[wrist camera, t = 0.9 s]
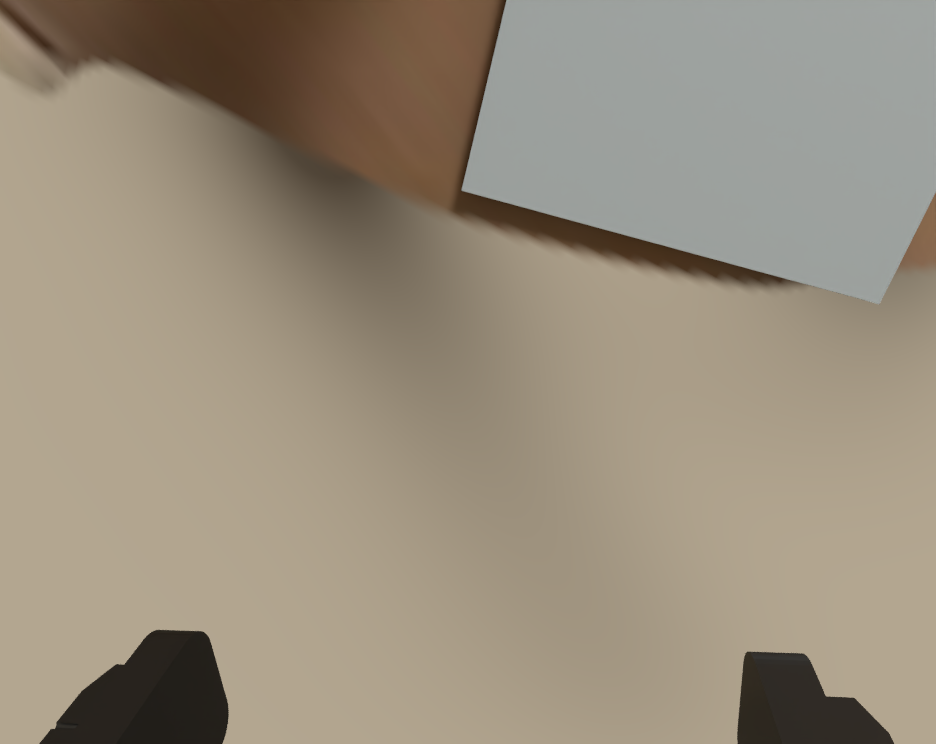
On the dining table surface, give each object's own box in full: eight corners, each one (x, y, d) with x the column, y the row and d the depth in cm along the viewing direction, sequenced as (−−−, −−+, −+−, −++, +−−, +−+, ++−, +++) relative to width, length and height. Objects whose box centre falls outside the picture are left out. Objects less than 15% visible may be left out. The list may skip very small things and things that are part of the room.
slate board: (591, -349, 25) (593, -367, 24) (1125, -217, 25) (1147, -230, 24) (464, 188, 33) (461, 190, 32) (870, 298, 32) (879, 304, 31)
